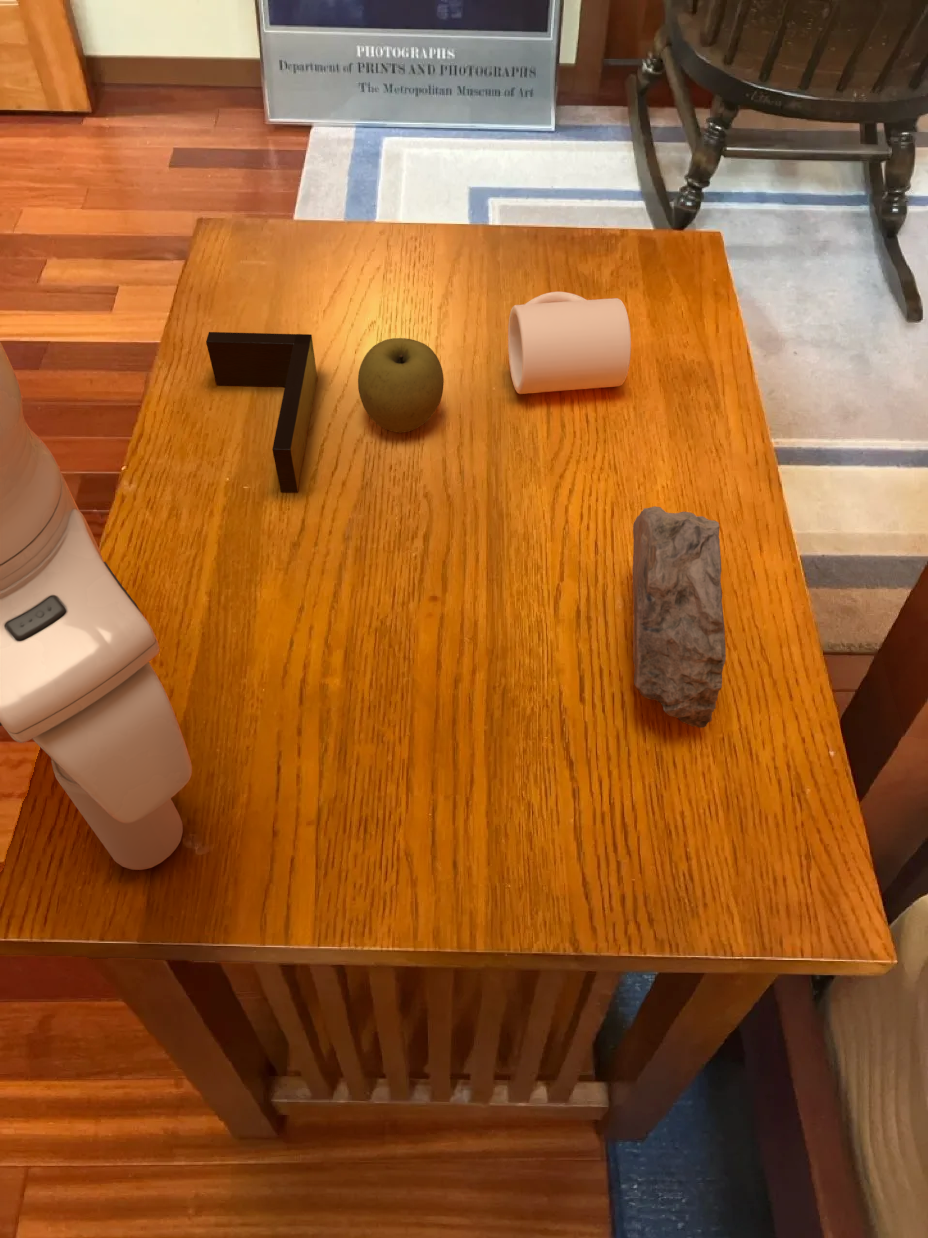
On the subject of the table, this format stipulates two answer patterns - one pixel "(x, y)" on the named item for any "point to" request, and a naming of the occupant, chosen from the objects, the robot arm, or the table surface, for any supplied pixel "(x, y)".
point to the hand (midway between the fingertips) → (83, 725)
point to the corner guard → (273, 366)
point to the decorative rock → (678, 613)
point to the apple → (400, 384)
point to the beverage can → (128, 828)
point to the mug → (568, 343)
